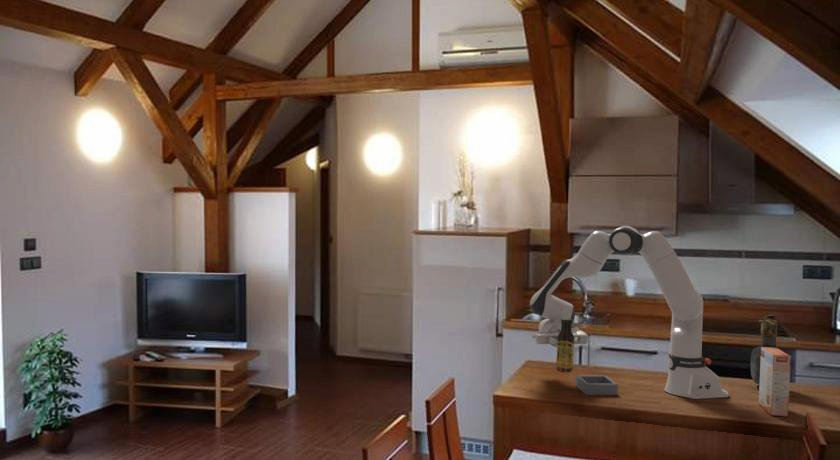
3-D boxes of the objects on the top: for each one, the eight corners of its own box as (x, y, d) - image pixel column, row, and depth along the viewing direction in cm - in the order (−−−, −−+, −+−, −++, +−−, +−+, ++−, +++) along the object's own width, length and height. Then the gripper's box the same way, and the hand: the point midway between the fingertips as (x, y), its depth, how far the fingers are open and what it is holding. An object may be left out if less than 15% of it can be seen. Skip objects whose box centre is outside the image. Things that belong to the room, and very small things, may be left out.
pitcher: (755, 393, 256) (758, 314, 255) (746, 381, 274) (749, 307, 273) (787, 396, 253) (790, 316, 252) (776, 383, 271) (779, 309, 270)
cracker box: (789, 417, 227) (791, 355, 226) (770, 416, 228) (772, 354, 228) (776, 405, 241) (778, 347, 240) (758, 404, 242) (760, 346, 241)
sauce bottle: (554, 372, 253) (555, 319, 253) (557, 368, 259) (557, 316, 259) (572, 373, 251) (572, 320, 250) (575, 369, 257) (575, 317, 256)
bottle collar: (606, 385, 264) (606, 375, 264) (617, 395, 251) (617, 384, 251) (576, 385, 263) (576, 375, 263) (586, 395, 250) (586, 384, 250)
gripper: (530, 327, 267) (539, 333, 254) (581, 327, 269) (592, 333, 255) (530, 343, 268) (538, 350, 254) (581, 342, 269) (592, 350, 255)
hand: (566, 342), depth 254 cm, fingers closed on sauce bottle, 6 cm apart
